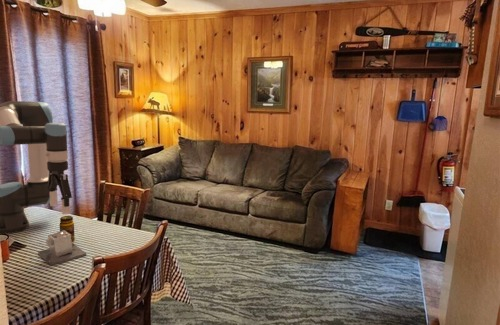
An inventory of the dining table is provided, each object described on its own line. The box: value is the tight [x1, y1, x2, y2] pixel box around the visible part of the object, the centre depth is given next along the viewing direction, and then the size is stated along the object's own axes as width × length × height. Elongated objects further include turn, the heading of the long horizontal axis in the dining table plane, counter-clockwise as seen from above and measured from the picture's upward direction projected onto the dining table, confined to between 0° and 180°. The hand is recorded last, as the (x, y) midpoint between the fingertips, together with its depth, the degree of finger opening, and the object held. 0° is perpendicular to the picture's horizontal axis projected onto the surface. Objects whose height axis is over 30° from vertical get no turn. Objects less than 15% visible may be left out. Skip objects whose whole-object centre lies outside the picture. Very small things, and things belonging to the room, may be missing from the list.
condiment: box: [59, 215, 77, 244], centre depth 157 cm, size 7×8×12 cm
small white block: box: [45, 231, 73, 257], centre depth 143 cm, size 8×7×8 cm
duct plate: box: [37, 231, 87, 267], centre depth 144 cm, size 15×14×10 cm
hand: (59, 209), depth 141 cm, fingers open, 13 cm apart
